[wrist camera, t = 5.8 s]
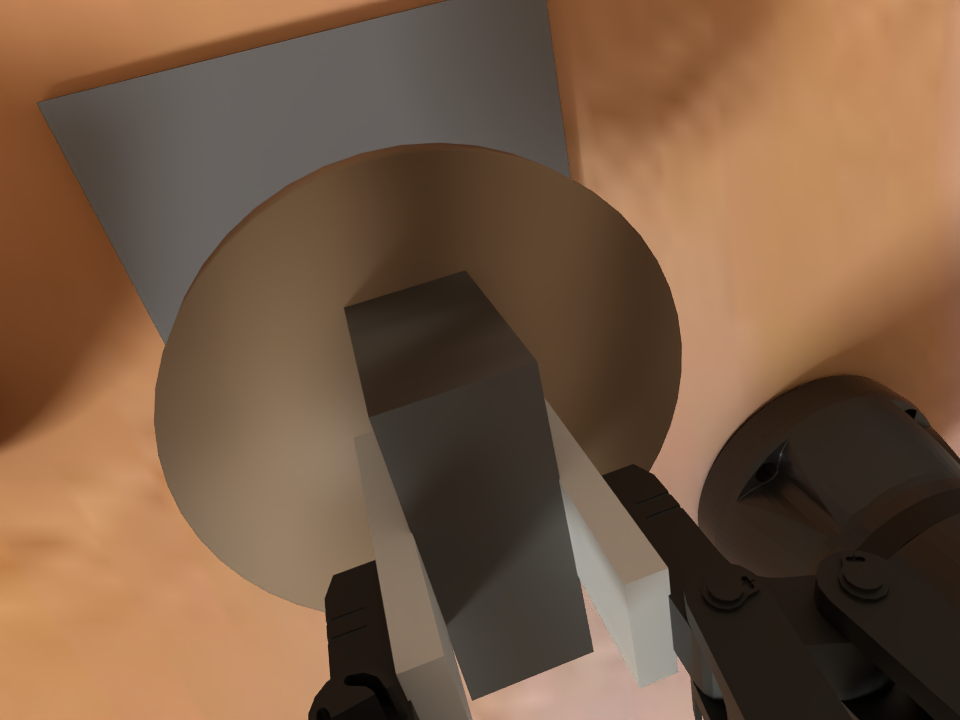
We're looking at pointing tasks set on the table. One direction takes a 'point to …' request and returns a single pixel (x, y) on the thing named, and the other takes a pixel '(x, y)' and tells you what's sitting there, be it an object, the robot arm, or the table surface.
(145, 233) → the mat
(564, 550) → the lid
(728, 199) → the table surface
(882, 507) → the robot arm
